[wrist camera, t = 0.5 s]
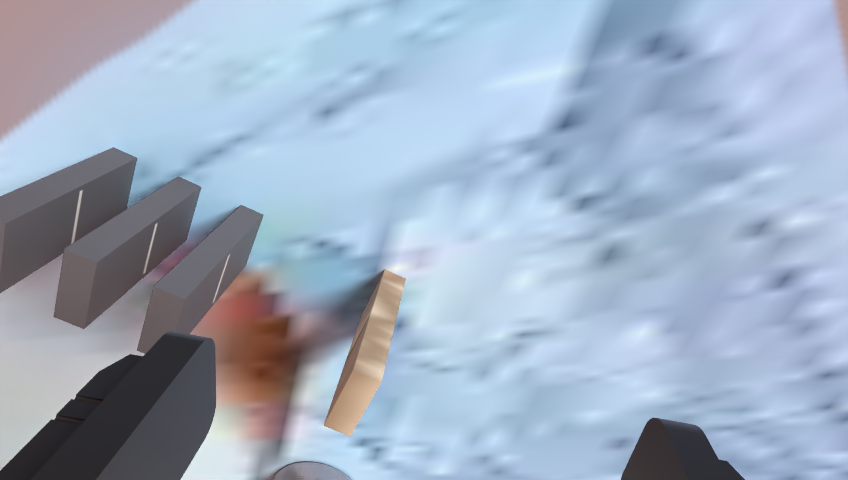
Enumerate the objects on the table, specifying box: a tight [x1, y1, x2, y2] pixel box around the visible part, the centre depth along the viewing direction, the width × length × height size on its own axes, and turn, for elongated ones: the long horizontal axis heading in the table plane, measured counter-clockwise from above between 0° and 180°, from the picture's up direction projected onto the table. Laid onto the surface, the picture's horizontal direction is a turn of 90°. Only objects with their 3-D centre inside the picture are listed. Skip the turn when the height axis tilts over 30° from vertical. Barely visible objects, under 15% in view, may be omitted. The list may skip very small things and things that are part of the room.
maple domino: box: [324, 270, 405, 436], centre depth 36 cm, size 2×5×12 cm, turn 155°
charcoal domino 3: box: [137, 205, 263, 354], centre depth 35 cm, size 2×5×12 cm, turn 155°
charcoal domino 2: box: [54, 177, 201, 329], centre depth 34 cm, size 2×5×12 cm, turn 155°
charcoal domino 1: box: [0, 147, 137, 293], centre depth 34 cm, size 2×5×12 cm, turn 155°
